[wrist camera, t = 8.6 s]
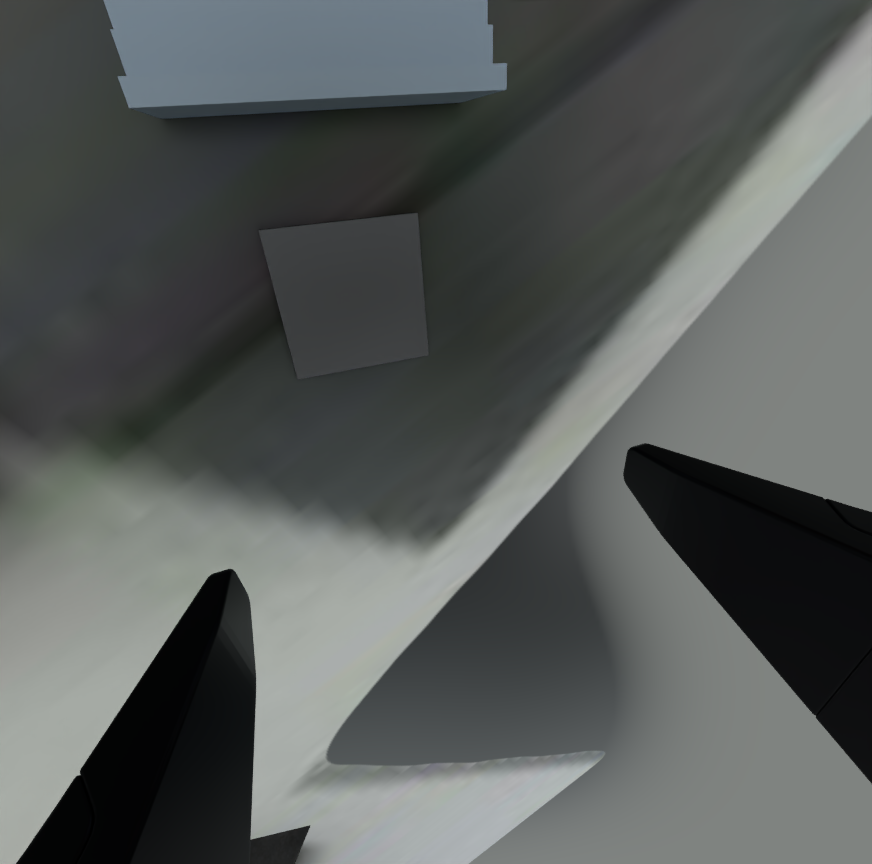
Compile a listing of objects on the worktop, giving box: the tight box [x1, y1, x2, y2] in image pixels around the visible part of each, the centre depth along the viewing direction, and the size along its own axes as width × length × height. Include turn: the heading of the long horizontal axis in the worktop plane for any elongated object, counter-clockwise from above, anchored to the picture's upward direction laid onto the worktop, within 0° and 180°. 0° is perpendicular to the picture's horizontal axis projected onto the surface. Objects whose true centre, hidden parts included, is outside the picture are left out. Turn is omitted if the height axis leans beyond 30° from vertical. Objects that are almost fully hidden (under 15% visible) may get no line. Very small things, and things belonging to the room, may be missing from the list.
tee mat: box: [259, 212, 429, 380], centre depth 18 cm, size 6×6×1 cm
